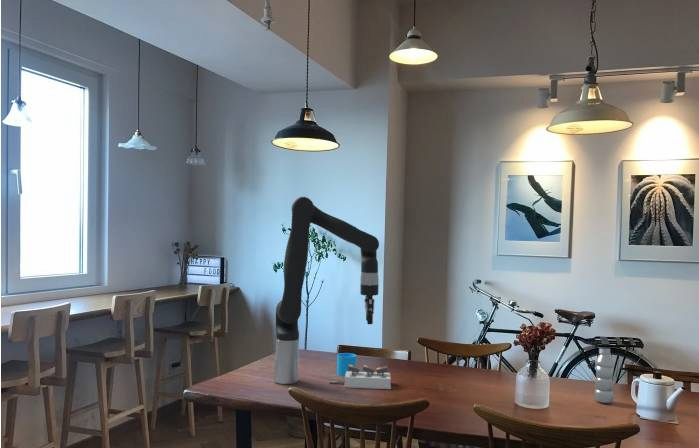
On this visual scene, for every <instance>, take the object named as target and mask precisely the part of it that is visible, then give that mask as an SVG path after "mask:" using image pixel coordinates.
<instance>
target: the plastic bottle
mask: <svg viewBox="0 0 699 448" xmlns="http://www.w3.org/2000/svg"><path fill="white" fill-rule="evenodd" d="M598 353H599V355H598V356H597V357H596V358H595V361H594V365H595V377H596V378H595V387H594V393H593V396H594V397H593V398H594V400H596V402H599V403H601V404H611V403H613V402H614V399H615V394H614V386H613V375H614V371H615V370H614V369H615V361H614V359H613V358H612V357H611V348H608V347H599V348H598Z"/></svg>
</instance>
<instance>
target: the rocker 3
mask: <svg viewBox="0 0 699 448" xmlns="http://www.w3.org/2000/svg"><path fill="white" fill-rule="evenodd" d="M375 372H377V374H380V373H389V367H388V365H385V366H380V367H376V371H375Z"/></svg>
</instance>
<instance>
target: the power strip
mask: <svg viewBox="0 0 699 448" xmlns="http://www.w3.org/2000/svg"><path fill="white" fill-rule="evenodd" d="M391 379H392V378H391V373H390V372H384V373H380V374H377V371H374V374H372V373H369V372H365V371H359V373H356V372H349V371H346V374H345V376H344V381H336V380H329V384H330V385H344V386H343V388H348V389H373V390H374V389H378V390H380V389H381V390H392V385H391V384H392V383H391Z"/></svg>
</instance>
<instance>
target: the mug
mask: <svg viewBox="0 0 699 448" xmlns="http://www.w3.org/2000/svg"><path fill="white" fill-rule="evenodd" d="M336 357H337V358H336V359H337V360H336V362H337V363H336V375H338V376H340V377H345V374H346V371H349V370H348V366H349V364H350V365H353V366H356V367H357V354H355V353H350V352H344V353H343V352H342V353H338V354H337V356H336ZM349 372H352V371H349Z"/></svg>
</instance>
